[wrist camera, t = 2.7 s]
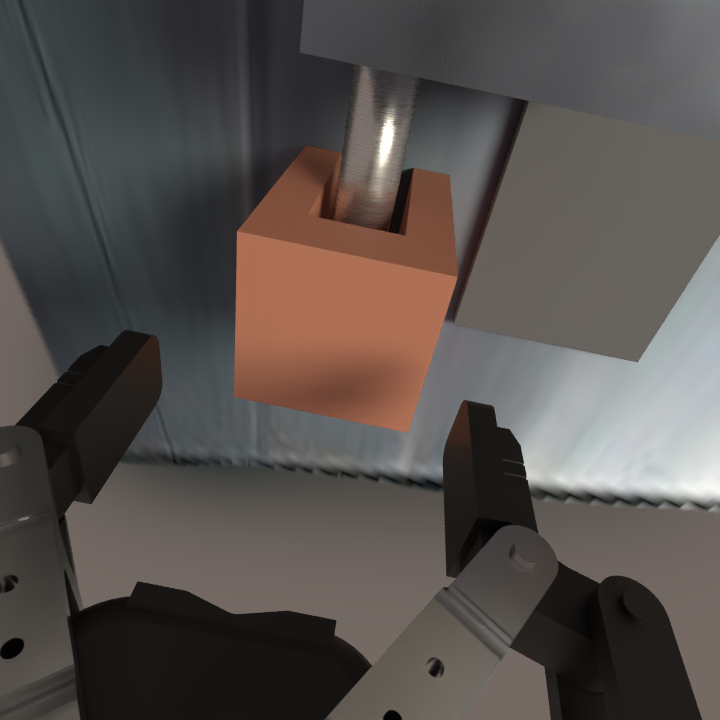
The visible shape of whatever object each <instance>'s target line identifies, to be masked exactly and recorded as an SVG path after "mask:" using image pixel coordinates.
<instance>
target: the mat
mask: <svg viewBox="0 0 720 720" xmlns="http://www.w3.org/2000/svg"><path fill="white" fill-rule="evenodd" d="M719 235H720V141H718V140H713V139H708V138H704V137H699V136H694V135H689V134H685V133H680V132H675V131H670V130H666V129H661V128H656V127H651V126H647V125H642V124H637V123H632V122H627V121H623V120H618V119H613V118H608V117H604V116H599V115H594V114H589V113H585V112H580V111H575V110H570V109H566V108H561V107H556V106H551V105H547V104H542V103H537V102H532V101H528V100H526V102H525V105H524V108H523V111H522V114H521V117H520V120H519V123H518V126H517V129H516V132H515V135H514V138H513V141H512V144H511V147H510V150H509V153H508V156H507V159H506V162H505V165H504V168H503V171H502V174H501V177H500V180H499V183H498V186H497V189H496V192H495V195H494V198H493V201H492V204H491V207H490V210H489V213H488V216H487V219H486V222H485V225H484V228H483V231H482V234H481V237H480V240H479V243H478V246H477V249H476V252H475V255H474V257H473V260H472V263H471V266H470V269H469V272H468V275H467V278H466V281H465V284H464V287H463V290H462V293H461V296H460V299H459V302H458V305H457V308H456V311H455V314H454V317H453V318H454V324H456V325H461V326H465V327H470V328H475V329H480V330H485V331H490V332H494V333H499V334H504V335H509V336H514V337H519V338H523V339H528V340H533V341H538V342H543V343H547V344H552V345H557V346H562V347H567V348H572V349H576V350H581V351H586V352H591V353H596V354H601V355H605V356H610V357H615V358H620V359H625V360H630V361H634V362H638V361H639V359H640V358H641V356H642V355H643V353H644V351H645V350H646V348H647V347H648V345H649V344H650V342H651V341H652V339H653V338H654V336H655V334H656V333H657V331H658V330H659V328H660V327H661V325H662V324H663V322H664V320H665V319H666V317H667V316H668V314H669V313H670V311H671V310H672V308H673V306H674V305H675V303H676V302H677V300H678V299H679V297H680V296H681V294H682V292H683V291H684V289H685V288H686V286H687V285H688V283H689V282H690V280H691V278H692V277H693V275H694V274H695V272H696V271H697V269H698V268H699V266H700V265H701V263H702V261H703V260H704V258H705V257H706V255H707V254H708V252H709V251H710V249H711V247H712V246H713V244H714V243H715V241H716V240H717V238H718V237H719Z"/></svg>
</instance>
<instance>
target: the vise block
mask: <svg viewBox="0 0 720 720" xmlns="http://www.w3.org/2000/svg"><path fill="white" fill-rule="evenodd" d="M300 53H304V54H309V55H313V56H318V57H323V58H328V59H332V60H337V61H342V62H347V63H351V64H354V70H353V77H352V85H351V92H350V99H349V106H348V114H347V121H346V128H345V135H344V142H343V150H342V157H341V164H340V171H339V178H338V186H337V193H336V200H335V207H334V214H333V221H337V222H342V223H347V224H352V225H356V226H361V227H366V228H371V229H376V230H380V231H385V232H389V229H390V224H391V220H392V215H393V210H394V206H395V201H396V196H397V192H398V187H399V182H400V178H401V173H402V168H403V164H404V159H405V154H406V150H407V145H408V140H409V136H410V131H411V126H412V121H413V117H414V112H415V107H416V103H417V98H418V93H419V89H420V84H421V79H422V78H423V79H428V80H432V81H437V82H442V83H447V84H451V85H456V86H461V87H466V88H470V89H475V90H480V91H485V92H489V93H494V94H499V95H504V96H509V97H513V98H518V99H523V100H528V101H532V102H537V103H542V104H547V105H551V106H556V107H561V108H566V109H570V110H575V111H580V112H585V113H589V114H594V115H599V116H604V117H608V118H613V119H618V120H623V121H627V122H632V123H637V124H642V125H647V126H651V127H656V128H661V129H666V130H670V131H675V132H680V133H685V134H689V135H694V136H699V137H704V138H708V139H713V140H718V141H720V0H304V5H303V17H302V30H301V42H300Z"/></svg>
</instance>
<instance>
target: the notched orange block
mask: <svg viewBox="0 0 720 720" xmlns="http://www.w3.org/2000/svg"><path fill="white" fill-rule="evenodd" d="M341 156H342V153H340V152H335V151H331V150H326V149H321V148H316V147H311V146H307V145H306V146H305V147H304V148H303V150H302V151H301V152H300V153H299V155H298V156H297V157H296V158H295V160H294V161H293V162H292V163H291V165H290V166H289V167H288V168H287V170H286V171H285V172H284V173H283V175H282V176H281V177H280V178H279V180H278V181H277V182H276V183H275V185H274V186H273V187H272V188H271V190H270V191H269V192H268V193H267V195H266V196H265V197H264V198H263V200H262V201H261V202H260V203H259V205H258V206H257V207H256V208H255V210H254V211H253V212H252V213H251V215H250V216H249V217H248V218H247V220H246V221H245V222H244V223H243V225H242V226H241V227H240V228H239V230H238V231H237V269H236V326H235V383H234V397H237V398H242V399H247V400H252V401H257V402H261V403H266V404H271V405H276V406H281V407H286V408H291V409H295V410H300V411H305V412H310V413H315V414H320V415H325V416H329V417H334V418H339V419H344V420H349V421H354V422H359V423H364V424H368V425H373V426H378V427H383V428H388V429H393V430H398V431H402V432H407V433H408V431H409V428H410V424H411V421H412V418H413V415H414V412H415V409H416V406H417V403H418V400H419V396H420V393H421V390H422V387H423V384H424V381H425V378H426V375H427V372H428V368H429V365H430V362H431V359H432V356H433V353H434V350H435V347H436V344H437V340H438V337H439V334H440V331H441V328H442V325H443V322H444V319H445V316H446V312H447V309H448V306H449V303H450V300H451V297H452V294H453V291H454V288H455V284H456V281H457V278H458V273H457V260H456V248H455V235H454V223H453V211H452V198H451V186H450V175H445V174H441V173H436V172H431V171H426V170H421V169H417V168H414V169H413V174H412V178H411V182H410V187H409V191H408V196H407V200H406V204H405V209H404V213H403V218H402V222H401V226H400V231H399V234H395V233H390V232H385V231H380V230H376V229H371V228H366V227H361V226H356V225H352V224H347V223H342V222H337V221H333V214H334V207H335V199H336V192H337V185H338V178H339V171H340V163H341Z"/></svg>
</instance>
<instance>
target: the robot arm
mask: <svg viewBox="0 0 720 720" xmlns="http://www.w3.org/2000/svg"><path fill="white" fill-rule="evenodd" d="M161 390H162V372H161V360H160V349H159V341H158V338H157V337H156V336H153V335H148V334H144V333H139V332H134V331H129V330H125V331H123V332H122V333H121V334H120V335H119V336H118V337H117V338H116V340H115V341H114V342H113V343H112V344H111V345H110V346H109V347H108V346H103V345H100V346H98V347H96V348H94V349H92V350H90V351H88V352H86V353H85V354H83V355H81V356H80V357H79V358H78V359H77V360H76V361H75V362H74V363H73V364H72V365H71V366H70V368H69V369H68V372H65V373H64V374H63V375H62V376H61V377H60V378H59V379H58V380H57V383H55V384H53V386H52V387H51V388H50V389H49V390H48V391H47V392H46V393H45V394H44V395H43V396H42V397H41V398H40V399H39V401H37V403H36V404H35V405H34V406H33V407H32V408H31V409H30V410H29V411H28V412H27V413H26V414H25V416H23V417H22V418H21V420H20V421H19V422H18V423H17V424H16V425H14V426H5V427H0V720H462V718H463V717H464V715H465V714H466V712H467V711H468V709H469V708H470V706H471V705H472V703H473V702H474V701H475V699H476V698H477V696H478V695H479V693H480V692H481V690H482V689H483V687H484V685H485V684H486V683H487V681H488V679H489V678H490V677H491V675H492V674H493V672H494V671H495V669H496V668H497V666H498V665H499V663H500V662H501V660H502V659H503V657H504V656H505V654H506V653H507V651H508V649H509V648H512V649H514V650H516V651H517V652H519V653H521V654H523V655H525V656H526V657H528V658H530V659H532V660H534V661H535V662H537V663H539V664H541V665H543V666H544V667H545V674H546V682H547V690H548V699H549V706H550V716H551V720H702V718H701V715H700V712H699V709H698V706H697V703H696V700H695V697H694V694H693V691H692V688H691V685H690V681H689V678H688V675H687V672H686V670H685V666H684V663H683V660H682V657H681V654H680V651H679V648H678V645H677V642H676V639H675V636H674V633H673V630H672V627H671V623H670V620H669V618H668V615H667V613H666V611H665V609H664V607H663V605H662V604H661V603H660V602H659V600H658V599H657V598H656V597H655V595H654V594H653V593H652V592H651V591H650V590H648V589H647V588H646V587H645V586H643V585H642V584H640V583H638V582H637V581H635V580H633V579H630V578H627V577H624V576H610V577H608V578H606V579H604V580H603V581H602V582H601V583H600V584H599V583H598V582H596V581H594V580H592V579H590V578H588V577H586V576H584V575H582V574H579V573H578V572H576V571H574V570H572V569H570V568H568V567H566V566H565V565H563V564H562V563H561V562H559V561H558V560H557V557H556V555H555V552H554V550H553V549H552V547H551V546H550V544H549V543H548V542H547V541H546V540H545V539H544V538H543V537H542V536H541V535H539V534H538V530H537V525H536V520H535V515H534V510H533V505H532V500H531V495H530V490H529V485H528V480H526V477H527V476H526V471H525V466H523V464H524V461H523V456H522V451H521V446H520V444H519V443H518V441H517V440H516V438H515V437H514V435H513V434H512V432H511V431H510V429H505V428H500V427H497V422H496V416H495V410H494V407H493V406H491V405H486V404H482V403H477V402H472V401H467V400H464V401H463V402H462V404H461V406H460V409H459V411H458V414H457V416H456V418H455V421H454V423H453V426H452V428H451V431H450V433H449V436H448V438H447V441H446V445H445V449H444V455H443V484H444V512H445V513H444V514H445V545H446V576H448V577H453V578H456V579H455V580H454V581H453V582H452V583H451V584H450V586H448V587H447V588H445V587H444V588H442V589H441V590H440V591H439V592H438V593H437V594H436V595H435V596H434V597H433V599H432V600H431V601H430V602H429V603H428V604H427V605H426V606H425V607H424V609H423V610H422V611H421V612H420V613H419V614H418V616H416V618H415V619H414V620H413V621H412V622H411V623H410V624H409V625H408V627H407V628H406V629H405V630H404V631H403V632H402V633H401V634H400V635H399V637H398V638H397V639H396V640H395V641H394V642H393V643H392V644H391V646H390V647H389V648H388V649H387V650H386V651H385V652H384V653H383V655H382V656H381V657H380V658H379V659H378V660H377V661H376V662H375V664H374V665H373V666H372V665H371V664H370V663H369V662H368V660H367V659H366V658H365V657H364V656H363V655H362V654H361V653H360V652H359V651H358V650H356V649H355V648H354V647H353V646H352V645H350V644H349V643H347V642H346V641H344V640H343V639H341V638H339V637H337V636H335V635H334V633H335V626H336V620H332V619H327V618H322V617H317V616H312V615H307V614H302V613H297V612H291V611H278V612H264V613H249V614H232V613H229V612H227V611H225V610H223V609H221V608H219V607H217V606H215V605H213V604H211V603H209V602H207V601H205V600H203V599H201V598H199V597H197V596H196V595H194V594H192V593H190V592H188V591H184V590H179V589H174V588H169V587H164V586H159V585H154V584H149V583H143V582H137V584H136V586H135V588H134V590H133V592H132V594H131V596H130V597H121V598H117V599H111V600H108V601H104V602H101V603H98V604H95V605H93V606H90V607H88V608H85V609H84V607H83V603H82V599H81V596H80V591H79V586H78V581H77V576H76V570H75V565H74V560H73V553H72V548H71V543H70V537H69V531H68V525H67V520H66V516H65V512H66V511H67V509H68V508H69V506H70V505H71V503H72V502H73V501H78V502H83V503H88V504H92V502H93V501H94V499H95V498H96V496H97V495H98V493H99V492H100V490H101V489H102V487H103V486H104V484H105V483H106V481H107V479H108V478H109V476H110V475H111V473H112V472H113V470H114V468H115V467H116V466H117V464H118V463H119V461H120V460H121V458H122V456H123V455H124V453H125V452H126V450H127V449H128V447H129V446H130V444H131V443H132V441H133V440H134V438H135V436H136V435H137V433H138V432H139V430H140V429H141V427H142V426H143V424H144V423H145V421H146V420H147V418H148V416H149V415H150V413H151V412H152V410H153V409H154V407H155V406H156V404H157V402H158V400H159V397H160V394H161Z"/></svg>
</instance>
